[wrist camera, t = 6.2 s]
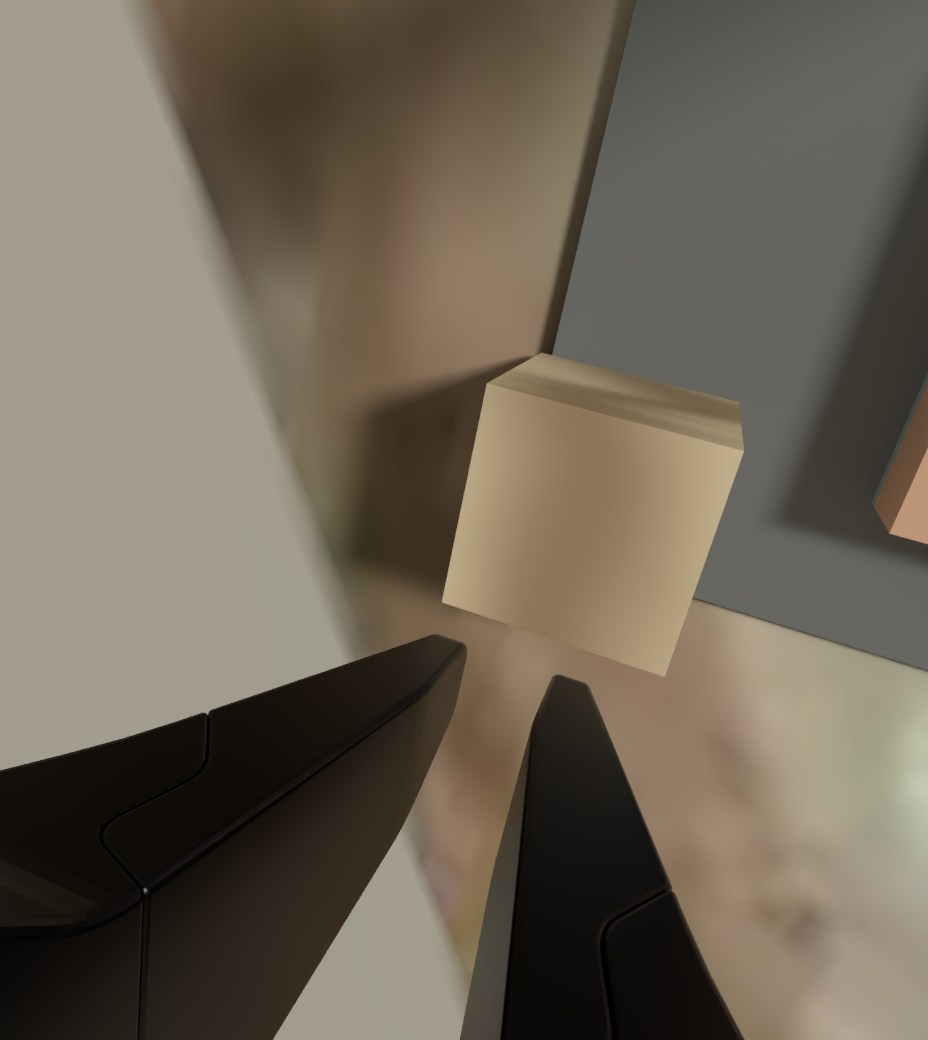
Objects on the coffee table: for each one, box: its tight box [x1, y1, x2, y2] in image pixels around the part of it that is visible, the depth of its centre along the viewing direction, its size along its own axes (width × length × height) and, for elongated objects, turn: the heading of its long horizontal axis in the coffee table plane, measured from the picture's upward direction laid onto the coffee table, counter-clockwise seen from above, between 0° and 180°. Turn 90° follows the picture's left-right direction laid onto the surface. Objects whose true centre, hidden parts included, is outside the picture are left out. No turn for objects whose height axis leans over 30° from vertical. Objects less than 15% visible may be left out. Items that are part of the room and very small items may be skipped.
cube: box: [442, 353, 744, 677], centre depth 16 cm, size 4×4×4 cm
